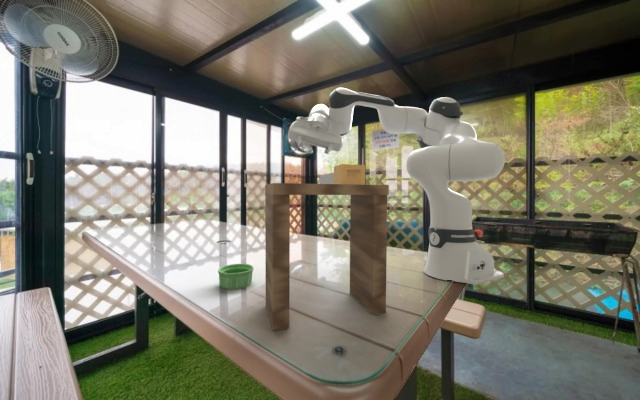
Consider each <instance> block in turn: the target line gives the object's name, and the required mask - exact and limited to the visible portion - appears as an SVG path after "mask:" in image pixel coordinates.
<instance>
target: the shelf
mask: <svg viewBox="0 0 640 400" xmlns="http://www.w3.org/2000/svg"><path fill="white" fill-rule="evenodd" d="M389 188H390V186H389V184H365V185H355V184H320V183H298V182H297V183H291V182H290V183H289V182H284V183H283V182H271V183H267V184H265V187H264V189H265V190H264V191H265V192H264V193H265V307H266V308H265V309H266V311H267V315H268V319H269V323H270V326H271V330H272V331H273V332H275V331H279V330H284V329H285V330H286V329H290V275H291V274H290V273H291V272H290V265H291V264H290V256H291V254H290V253H291V252H290V251H291V250H290V246H291V245H290V243H291V242H290V240H291V238H290V237H291V235H290V228H291V225H290V224H291V223H290V219H291V217H290V215H291V213H290V211H291V210H290V209H291V208H290V207H291V206H290V205H291V204H290V203H291V198H290V197H291V196H294V195H296V196H297V195H298V196H305V195H306V196H307V195H308V196H350V197H349V198H350V199H349V200H350V208H349V209H350V210H349V213H350V214H349V215H350V216H349V217H350V218H349V222H350V225H349V230H350V231H349V295H350V296H351V297H352V298H354V299H355V300H356V301H357V302H358V303H359V304H360V305H361V306H363V307H364V308H365V309H366V310H367V311H368V312H369V313H370V314H372V315H378V314H383V313H385V314H386V313H387V245H388V244H387V242H388V241H387V240H388V239H387V238H388V232H387V231H388V196H389V194H390V193H389V192H390V191H389V190H390V189H389ZM290 195H291V196H290Z"/></svg>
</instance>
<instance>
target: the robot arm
mask: <svg viewBox="0 0 640 400" xmlns="http://www.w3.org/2000/svg"><path fill="white" fill-rule="evenodd" d="M355 106H362V107H366V108H367V107H368V108H373V109H376V110H377V113H378V119H379V123H380V125H381V128H382V129H383V130H384V131H385V133H388V134H391V135H406V134H409V135H410V134H416V135H418V137H417V138H416V142H417V143H418V146H420V148H417V149H414V150H413V151H411V153H409V155H408V157H407V160H406V171H407V173H408V176H409V177H410V178H412V180H414V181H415V182H416V183H418V184H419V186H421V188H422V189H423V190H424V192H425V194H426V196H427V199H428V202H429V213H430V214H429V215H430V217H429V218H430V224H429V225H430V226H429V227H428V240H429V245H428V251H427V257H426V261H425V267H424V269H423V273H424V274H425V275H428V276H430V277H431V278H432V277H433V278H435V279H439V280H441V281H447V280H454V281H455V282H456V283H465V284H470V285H474V286H478V285H481V284H485V283H488V282H491V281H494V280H498V279H502V278H504V277H505V275H504V274H505V273H504V272H502V271H501V270H498V269H495V260H494V256H493V254H491V252H489V251H488V250H487V249H485V248H484V246H482V245H481V244H480V243H478V241H477V238H476V237H479V238H483V235H484V231H483V230H482V229H473V225H472V223H473V205H472V202H471V201H470V199H469V198H468V197H466V196H465V195H463V194H461V193H459V192H456V191H454V190H452V189H451V187H450V185H449V183H450V182H451V183H452V182H478V181H484V180H489V179H493V178H494V179H495V178H496V177H497V176H498V175H499V174H500V173H501V172H502V170H503V168H504V166H505V163H506V157H505V152H504V151H503V149H502V147H500V146H499V144H497V143H495V142H489V141H488V142H487V141H482V140H478V139H477V137H478V136H477V133H476V132H477V131H476V130H475V127H473V125H472V124H471V123H469V122H466V121H464V120H463V121H462V120H461V116H462V115H464V112H463V111H462V109H461V105H460V103H459V102H458V100H456V99H454V98H452V97H448V96H445V97H437V98H436V99H435V98H434V100H433V101H431V104H430V106H429V111H427V110H425V109H424V108H419V107H415V106H399V105H397V104H395V102H394V100H393V99H391V98H390V97H386V96H382V95H378V94H371V93H366V92H362V91H356V90H353V89H349V88H345V87H337V88H334V90H333V91H331V92H330V94H329V96H328V106H327V105H325V104H323V103H319V104H315V106H313V107H312V108H311V110H310V112H309V114H308V116H297V117H296V118H295V121H293V122H292V123H291V124H290V126H289V128H288V132H287V138H288V139H289V140H290V141H291V140H292V141H295V142H296V143H297V144H298V145H297V146H298V148H303V146H304V144H306V145H311V146H314V147H317V148H318V147H319V148H322V149H324V154H326V155H329V153H330V152H332V151H335V152H340V151H341V150H342V147H343V144H344V141H343V140H344V137H343V136H345V135H347V134H349V133H350V132H351V130H352V125H353V124H352V123H353V116H354V109H355ZM454 281H453V282H454Z"/></svg>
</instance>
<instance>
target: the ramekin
mask: <svg viewBox="0 0 640 400" xmlns="http://www.w3.org/2000/svg"><path fill="white" fill-rule="evenodd" d="M253 271H254V266H253V265H251V264H248V263H233V264H227V265H224V266H222V267H221V266H220V267H219V268H218V270H217V272H218V276H219V277H218V280H219V286H220V288H222V289H224V288H225V290H239V289H244V288H247V287H248V286H250V285H251V284H252V282H253Z"/></svg>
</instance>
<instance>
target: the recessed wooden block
mask: <svg viewBox="0 0 640 400" xmlns="http://www.w3.org/2000/svg"><path fill="white" fill-rule="evenodd" d="M319 184H355V185H366V164H349V163H348V164H346V163H345V164H344V163H342V164H338V165H335V166H333V172H330V173H327V174H322V175H319Z"/></svg>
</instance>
